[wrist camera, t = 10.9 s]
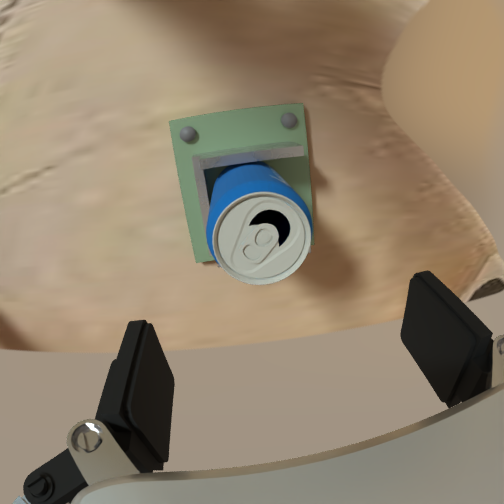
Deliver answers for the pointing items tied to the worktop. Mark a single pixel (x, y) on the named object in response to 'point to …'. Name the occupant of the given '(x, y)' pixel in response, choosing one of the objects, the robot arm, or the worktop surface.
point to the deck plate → (233, 136)
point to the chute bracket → (236, 157)
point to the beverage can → (257, 224)
